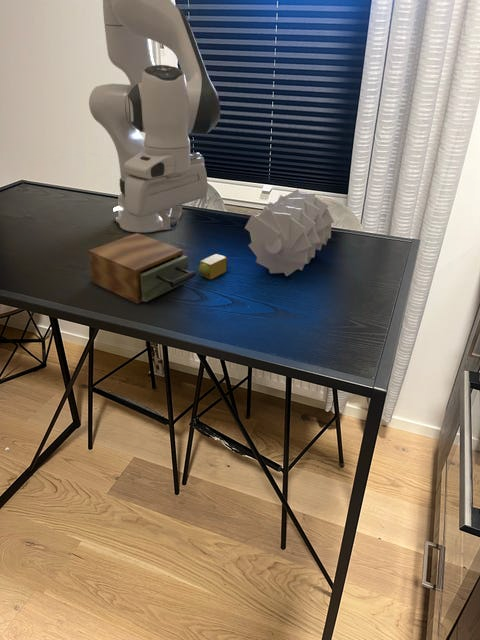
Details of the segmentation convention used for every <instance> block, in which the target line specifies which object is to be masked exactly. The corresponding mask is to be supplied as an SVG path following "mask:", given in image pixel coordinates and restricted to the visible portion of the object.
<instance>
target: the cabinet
mask: <svg viewBox="0 0 480 640" xmlns="http://www.w3.org/2000/svg"><path fill="white" fill-rule="evenodd" d="M176 256H177V258H179V257H181V256H184V250H183V248H182V249H181V248H179V247H177V246H174V245H171V244H169V243H166V242H163V241H160V240H157V239H154V238H153V237H149V236H146V235H144V234H142V233H139V232H135V233H134V234H130V235H128V236H125V237H122V238H120V239H116V240H114V241H111V242H108V243H105V244H103V245H100V246H97V247H93V248H92V249H91V248H90V249H89V250H88V257H89V263H90V264H89V265H90V272H91V278H92V283H93V284H95V285H98V286H99V287H101V288H103V289H106V290H107V291H110V292H111V293H114V294H116V295H117V296H120V297H123V298H124V299H127V300H128V301H131V302H133V303H134V304H137V305H139V304H141V303H144V301H142V295H141V296H140V288H139V276H138V272H141V271H143V270H145V269H148V268H150V267H152V266H155V265H157V264H159V263H162V262H164V261H166V260H169V259H171V258H173V257H176Z"/></svg>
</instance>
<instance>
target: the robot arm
mask: <svg viewBox="0 0 480 640" xmlns="http://www.w3.org/2000/svg"><path fill="white" fill-rule="evenodd" d="M102 12H103V14H102V16H103V24H104V32H105V43H106V49H107V56H108V58H109V60H110V63H112V65H113V66H115V67H116V68H118V69H119V70H120V71H122V72H123V73H124V74H125V76H126V77H127V79H128V81H129V84H125V83H123V84H122V83H106V84H101V85H97V86H94V87H93V89H92V90H91V92H90V95H89V98H88V106H89V107H88V108H89V111H90V114H91V116H92V117H93V119H94V120H95V121H96V122H97V123H98V124H99V125H101V127H102V128H103V129H104V130H105V131H106V133H107V134H108V135H109V137H110V138H111V141H112V142H113V144H114V147H115V150H116V153H117V159H118V166H119V174H120V178H119V183H118V184H119V191H120V192H121V193H119V195H118V196H117V206H115V207H114V208H113V212H116V211H118V215H117V216H116V217H115V222H116V223H117V224H119V225H118V226H119V227H120V229H122V230H124V231H126V232H131V233H153V232H158V231H168V230H173V228H175V227H177V226H179V219H180V218H181V216H182V211H183V205H185V204H189V203H191V202H195V201H197V200H200V199H203V198H205V197H206V196H207V194H208V191H209V187H208V176H207V170H206V166H205V158H204V157H203V155H202V154H200V152H194V153H191V140H190V138H189V134H191V135H208V133H210V132H211V131H212V130H213V129H214V128H215V127H216V126H217V124H218V123H219V121H220V118H221V104H220V99H219V94H218V92H217V90H216V88H215V86H214V85H213V82H212V81H211V79H210V77H209V74H208V72H207V68H206V66H205V64H204V63H205V62H204V60H203V58H202V55H201V52H200V50H199V46H198V44H197V41H196V39H195V35H194V33H193V30H192V28H191V25H190V23H189V20H188V18H187V16H186V14H185V13H184V11H183V10H182V9H181V8H179V7H177V6H176V5H175V3H174V2H173V1H172V0H102ZM152 41H153V42H156V43H157V44H161V45H163V46H164V47H166V48H168V49H169V50H171V52H172V53H173V54H174V55H175V56H176V59H177V62H178V65H179V67H180V68H179V67H175V66H172V65H166V64H155V60H154V56H153V49H152ZM141 133H144V137H143V136H142V134H141Z"/></svg>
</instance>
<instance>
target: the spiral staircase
mask: <svg viewBox="0 0 480 640" xmlns="http://www.w3.org/2000/svg"><path fill="white" fill-rule="evenodd" d="M329 206H330V205H329V204H328V203H326V202H325V201H323V200H321V199H320V198H318V197H317V196H316V193H314V192H300V191H299V189H298V188H297V189H295V190H294V191H292V192H289V194H286V195H282V194H280V195H279V197H278V199H277V201H276V202H274V203H273V202H271V201H269V202H268V205H267V206H266V205H265V206H264V207H263V208H262V209H261V211H260V213H259V214H258V215H255V214H253V213H252V214H251V216H250V217H249V219H248V221H247V223H246V224H245V227H244V229H245V230H246V231H248V232H249V236H250V241H251V242H250V243H249V244H248V245H247V246H248V248H249V249H250V250H251V251H252V253H253V254H254V255H255V257H256V259H255V263H256V264H259V265H261V266H262V267H264V268H267V269H268V271H269V274H284V275H285V277H288V276H290V275H291V274H293V273H294V272H295V271H297V270H300V271H303V270H304V267H305V265H308V264H309V263H310V262H311V261H312V258H313V259H314V258H315V256H316V250H318V251H322V247H323V245H324V246H327V243H328V240H329V239H331V238H332V224H334V223H335V221H334V218H333V217H332V214H331V212H330V210H329V209H328V208H329Z"/></svg>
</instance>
